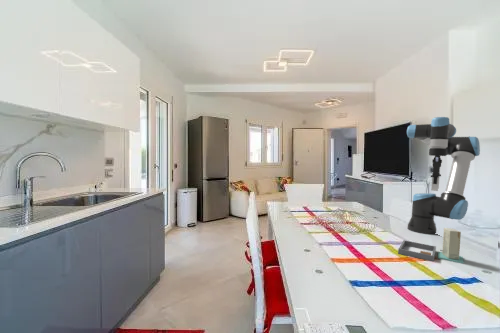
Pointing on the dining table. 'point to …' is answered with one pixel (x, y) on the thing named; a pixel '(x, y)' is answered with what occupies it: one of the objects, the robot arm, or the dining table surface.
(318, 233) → the dining table surface
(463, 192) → the robot arm
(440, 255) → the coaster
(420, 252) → the walnut box
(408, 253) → the tray
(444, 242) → the skincare box
